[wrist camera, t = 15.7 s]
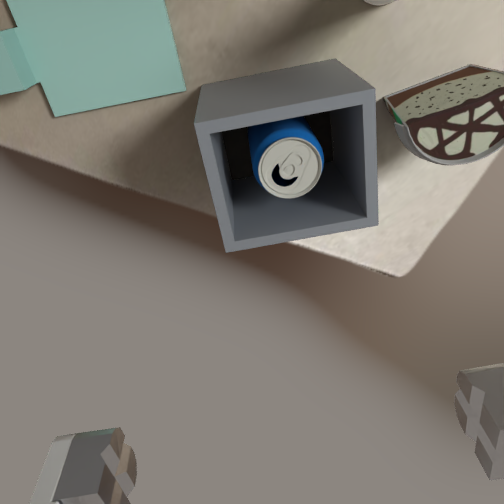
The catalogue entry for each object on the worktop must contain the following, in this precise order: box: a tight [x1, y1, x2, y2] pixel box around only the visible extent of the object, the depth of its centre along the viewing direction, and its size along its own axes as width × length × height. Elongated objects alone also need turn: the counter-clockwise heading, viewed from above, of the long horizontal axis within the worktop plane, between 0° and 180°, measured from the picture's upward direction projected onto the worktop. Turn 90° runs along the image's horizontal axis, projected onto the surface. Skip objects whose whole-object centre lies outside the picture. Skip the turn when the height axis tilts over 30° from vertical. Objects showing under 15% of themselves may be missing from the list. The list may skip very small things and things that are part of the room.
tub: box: [194, 59, 378, 253], centre depth 42 cm, size 12×14×14 cm
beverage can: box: [248, 116, 324, 198], centre depth 43 cm, size 6×6×12 cm
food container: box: [384, 64, 504, 165], centre depth 44 cm, size 12×6×10 cm, turn 110°
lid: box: [0, 0, 186, 117], centre depth 41 cm, size 12×17×4 cm
